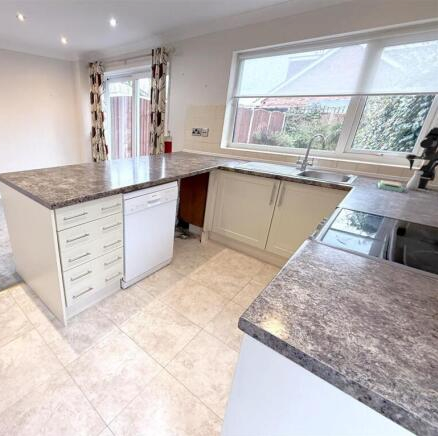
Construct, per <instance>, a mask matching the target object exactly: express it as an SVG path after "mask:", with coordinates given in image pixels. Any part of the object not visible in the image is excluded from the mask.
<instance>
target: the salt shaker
mask: <svg viewBox="0 0 438 436" xmlns="http://www.w3.org/2000/svg"><path fill="white" fill-rule="evenodd" d="M422 174H423V171H418V170H415V171H414V172H413V176H412V177H411V178H410V179H409V181H408V182H407V184H406V185H405V186H406V190H411V191H415V190H416V189H419V188H418V185H419V181H420V176H421V175H422Z"/></svg>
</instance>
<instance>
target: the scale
mask: <svg viewBox="0 0 438 436" xmlns="http://www.w3.org/2000/svg"><path fill="white" fill-rule="evenodd" d="M401 186H402V184H401ZM377 187H378V189H381V190H388V191H391V192H399V193H403V192H404V187H403V186H402V187H399V186H393V185H387V184H385V185H384V184H382V183H381V180H380V181H379V180H378V182H377Z"/></svg>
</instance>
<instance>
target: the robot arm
mask: <svg viewBox="0 0 438 436" xmlns="http://www.w3.org/2000/svg"><path fill="white" fill-rule="evenodd" d="M419 146H420V147H421V148H423V150H422V153H421V155H420V156H419V155H416V154H410V153H408V154H406V155H405V159H406V160H407V161H409V171H412V169H413V166H414V163H415V161H416V160H422V161H428V163H426V164H422V165H421V167H420V168H419V169H417V171H423V174H422V175H421V176H420V181H419V185H418V188H417V189H423V190H427V189H428V188H427V185H428V184H429V182H434V180H435V178H436V171H437V170H436V168H437V166H438V126H434V127H433V128H431V129H430V130H429V131H428V133H427V134H426V135H425V136H424V139H423V140H421V141H420V143H419Z"/></svg>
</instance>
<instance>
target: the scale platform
mask: <svg viewBox="0 0 438 436" xmlns="http://www.w3.org/2000/svg"><path fill="white" fill-rule="evenodd" d="M380 182H381V183H382V184H384V185H385V184H387V185H393V186H399V187H403V186H401V185H402V184H401V182H398V181H397V182H396V181H390V180H383V179H381V180H380Z"/></svg>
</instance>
